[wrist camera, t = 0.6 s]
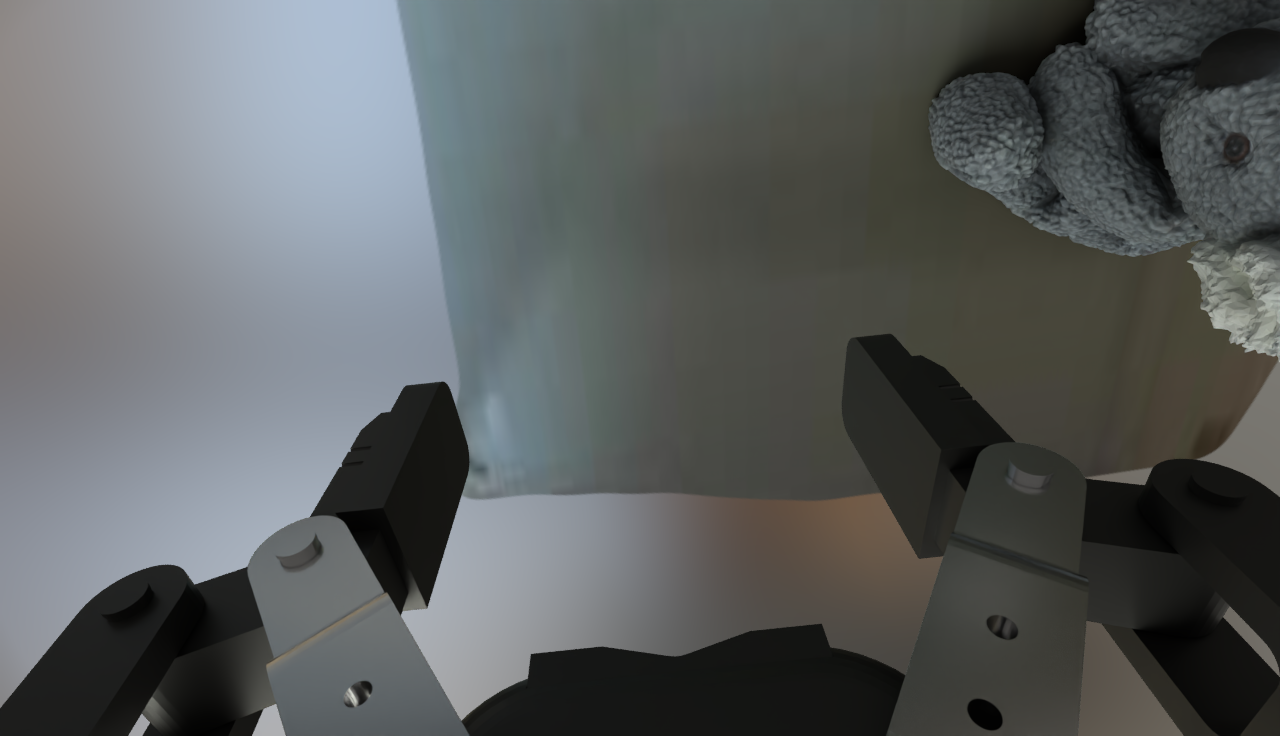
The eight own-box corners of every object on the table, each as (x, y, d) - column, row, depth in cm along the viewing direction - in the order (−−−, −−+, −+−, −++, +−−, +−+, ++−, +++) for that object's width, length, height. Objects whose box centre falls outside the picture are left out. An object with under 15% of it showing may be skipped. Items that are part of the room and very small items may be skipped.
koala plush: (1160, -169, 29) (1950, -437, 12) (1307, 77, 35) (1963, 126, 18) (891, 133, 35) (1165, 234, 18) (1057, 297, 42) (1374, 483, 25)
